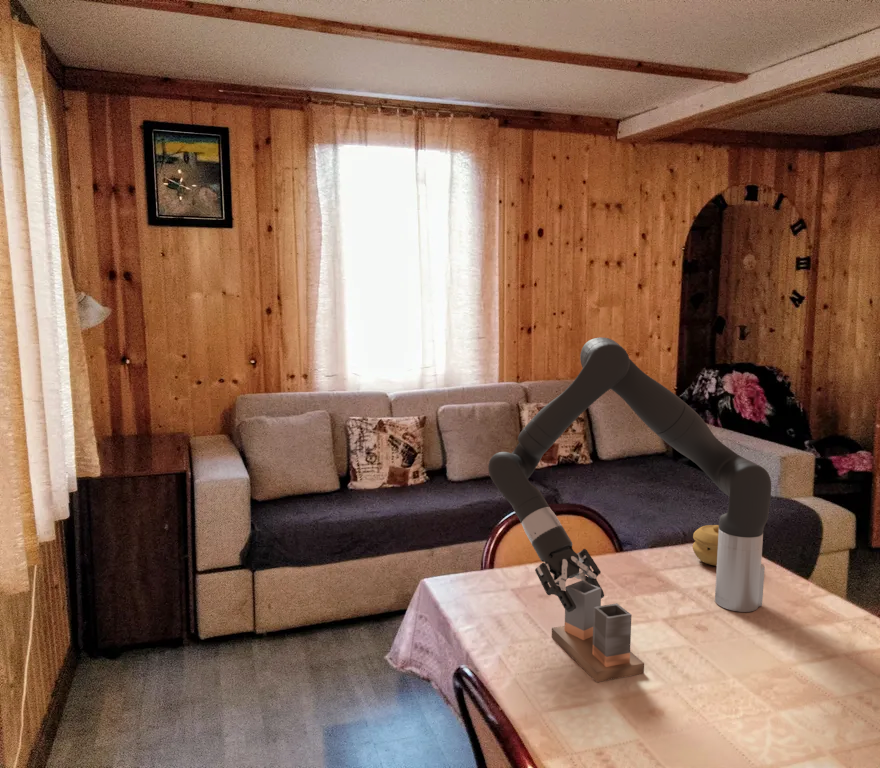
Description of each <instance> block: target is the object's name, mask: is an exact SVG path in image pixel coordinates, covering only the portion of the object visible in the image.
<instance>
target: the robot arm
mask: <svg viewBox="0 0 880 768" xmlns="http://www.w3.org/2000/svg"><path fill="white" fill-rule="evenodd" d="M579 356H580V364H581V367H582V369H581V371H580V372H579V373H578V374H577V376H576V377H575V379H574V380H573V381H572V383H570V385H568V387H566V389H565V390H564V391H563V392H562V393H560V394H559V395H558V396H556V397H555V398H554V399H552V400H551V401H550V402H549V403H548V404H546V405H544V406H543V407H541V409H540V410H539V411H538V412H537V413H536V414H535V415H534V416H533V417H532V419H531V420H530V421H529V422H528V423H527V424H526V425H525V427H524V428H522V430H521V431H520V433H519V434H518V436H517V441H518V444H516V447H515V448H514V449H513V451H512V452H511V453H510V452H509V451H500V452H496V453H495V454H494V455H492V456H491V458H490V459H489V462H488V466H487V467H488V469H487V470H488V474H489V477H490V479H491V481H492V483H494V485H495V487H496V488H497V490H498V491H499V492H500V493H501V495H502V496H503V497H504V498H505V500H506V501H507V502H508V503H509V504H510V505H511V507H512V509H513V511H514V513H515V514H516V516H517V518H518V519H519V521H520V524H521V526H522V528H523V531H524V533H525V535H526V536H527V539H528V540H529V542H530V543H531V546H532V547H533V550H534V551H535V553H536V554H537V556H538V558H539V560H540V561H541V563H540V564H539V565H538V566H537V567H536V568H535V569H534V571H535V574H536V575H537V578H538V579H539V581H540V583H541V585H542V587H543V589H544V592H545V593H546V595H548V596H552V595H555V596H556V597H558V600H559V602H560V603H561V605H562V606H563V608H564V610H565V609H566V610H567V611H568V612H571V611H573V610H574V609H575V608H576V605H575V603H574V601H573V600H572V598H571V596H570V594H569V593H568V591H566V586H567V585H566V584H567V583H566V582H567V581H568V579H573V578H576V579H578V580H580V581H582V580H583V581H585V582H587V583H590V584H592V585H595V586H597V587H600V588H601V600H602V599H603V598H604V597H605V593H604V590H603V589H602V586H601V585H600V583H599V582H598V580H597V577H599V575H600V574H601V570H600V568H599V567H598V564H597V563H596V562H595V561H594V559H593V557H592V556H591V554H590V553H589V552H588V550H587V549H586V548H583V549H582V550H581V551H579V552H576V551H574V549H573V542H572V540H571V538H570V536H569V535H568V533H567V531H566V530H565V528H564V526H563V525H562V524H561V521H560V520H559V518H558V517H557V514H555V512H554V511H553V510H552V509H551V507H550V506H549V504H548V502H547V500H546V498H545V496H544V495H543V493H542V492H541V491H540V489H539V488H538V487H536V486H535V485H533V484H532V483H531V481H529V478H531V475H532V474H533V473H534V471H535V470H536V468H537V466H538V465H539V463H540V462H541V460H542V457H543V456H544V454H546V452H547V451H548V450H549V449H550V448H551V447H552V446H553V445H554V444H555V443H556V442H557V440H558V439H559V438H560V437H561V436H562V435H563V434H564V433H565V431H566V430H567V429H568V428H569V427H570V426H571V425H572V424H573V423H574V422H575V421H576V420H577V419H578V418H579V417H580V415H582V414H583V413H584V412H585V411H586V410H587V409H588V408H590V407H591V406H592V404H594V403H595V402H596V401H597V400H598V399H599V398H601V397H602V396H604V394H605V393H607V392H609V390H611V391H612V392H613V393H615V394H617V395H618V396H619V397H620V398H621V399H622V400H623V401H624V402H625V403H626V404H627V405H628V407H630V409H632V411H633V412H634V413H635V415H636V416H638V418H639V419H640V420H641V421H642V422H643V423H644V424H645V425H646V426H647V427H648V428H649V429H650V430H651V431H652V432H653V433H655V434H656V435H657V436H658V437H659V438H660V439H661V440H663V441H664V442H665V443H666V444H668V445H669V446H670V447H672V448H673V449H674V450H676V451H677V452H678V453H680V454H681V455H683V456H684V457H686V458H687V459H689V460H690V461H692V463H695V464H696V465H697V466H698V467H699V469H701V470H702V471H703V473H704V474H705V475H706V476H708V477H709V479H711V481H712V482H713V483H714V484H715V486H716V487H717V488H718V489H720V491H721V492H722V493H723V494H725V495H726V496H727V497H728V506H727V512H725V513H723V514H721V515H720V516H719V520H718V525H719V532H718V551H717V566H716V572H715V573H716V575H715V589H714V591H715V592H714V602H715V603H716V605H718V606H720V607H721V608H723V609H727V610H729V611H734V612H740V613H749V612H754V611H757V610H758V608H759V607H762V606H763V597H764V586H765V585H764V584H765V583H764V582H765V581H764V580H765V565H764V564H763V563H762V558H763V557H762V556H763V543H764V541H763V540H764V539H763V538H764V528H765V526H766V524H767V522H768V519H769V513H770V507H771V506H770V505H771V496H772V479H771V477H770V474H769V472H768V471H767V470H766V469H765V467H762V466H761V465H760V464H757V463H755V462H753V461H751V460H749V459H748V458H745V457H742V456H741V455H739V454H738V453H737V452H735V451H733V450H732V449H731V448H729V447H728V446H726V445H725V444H724V443H722V442H721V441H720V440H719V439H718V437H716V436H715V435H714V433H713V432H712V431H711V429H710V427H709V426H708V424H707V423H706V422H705V420H704V419H703V418H702V417H701V415H700V414H699V413H698V412H696V411H695V409H693V408H692V407H691V406H690V405H688V403H686V402H685V401H684V400H683V399H681V398H680V397H679V395H676V394H675V393H674V392H672V391H671V390H670V389H669V388H667V387H665V386H664V385H663V384H661V383H660V382H658V381H656V380H655V379H654V378H652V377H650V376H649V375H648V374H646V373H645V372H644V371H643V370H642V369H640V368H639V367H638V366H637V365H636V363H635V362H633V361H632V359H631V358H630V357H629V354H628V352H627V351H626V349H625V348H623V346H621V345H620V344H619V343H618V342H616V341H615V340H613V339H611V338H609V337H595V338H594V337H593V338H592V339H589V340H588V341H587V342H585V343H584V345H583V346H582V348H581V351H580V355H579Z"/></svg>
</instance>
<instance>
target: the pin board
mask: <svg viewBox="0 0 880 768" xmlns="http://www.w3.org/2000/svg"><path fill="white" fill-rule="evenodd" d="M631 636H632V614H631V613H630V612H629V611H628V610H627V609H625V608H623V606H621V605H620V604H618V603H612V604H603V605H601V606H597V607H594V618H593V636H592V637H590V638H587V639H585V640H582V639H580V638H578V637H576V636H574V635H572V634H570V633H568V632H566V631H565V625H562V626H561V625H560V626H556V627H552V628H551V638H552V639H553V640H554V641H555V642H556V643H557V644H558V645H559V646H560V647H561V649H563V650H564V651H565V652H566V654H567V655H569V656H570V657H571V658H572V660H573V661H575V662H576V663H577V664H578V665H579V667H581V668H582V669H583V670H584V671H585V672H586V673H587V674H588V675H589V677H591V679H593V681H595V682H596V683H600V682H605V681H611V680H615V679H621V678H627V677H630V676H637V675H642V674H645V662H643V660H641V659H640V658H639V657H638V656H637V655H635V653H633V652H632V651H631V643H632V642H631V640H632V637H631Z"/></svg>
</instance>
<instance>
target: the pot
mask: <svg viewBox="0 0 880 768" xmlns="http://www.w3.org/2000/svg"><path fill="white" fill-rule="evenodd" d="M718 532H719V524H710V525H709V524H707V525H703V526H700V527H699V528H697V529H696V530H695V531H694V532H693V535H692V538H693V540H694V542H693V543H692V550H693V552H694V554H695V556H696V558H698V559H699V561H701V562H703V563H704V564H707V565H711V566H715V567H717V551H718Z"/></svg>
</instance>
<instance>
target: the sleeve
mask: <svg viewBox="0 0 880 768" xmlns="http://www.w3.org/2000/svg"><path fill="white" fill-rule="evenodd" d="M600 587H601V586H600ZM600 587H597V586H595V585H592V584H590V583H587V582H585V581H583V580H579V581H577V582H574V583H571V584H568V585H566V589H565V591H568V593H569V594H570V596H571V598H572V600H573V601H574V603H575V605H576V608H575V609H574V610H573V611H571V612H568V611H567V610H566V609H565V608H564V626H565V631H566V632H568V633H570V634H572V635H574V636H576V637H578V638H580V639H582V640H585V639H587V638H590V637H592V636H593V618H594V607H597V606H602V604H601V603H602V599H601V588H602V587H601V588H600Z"/></svg>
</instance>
